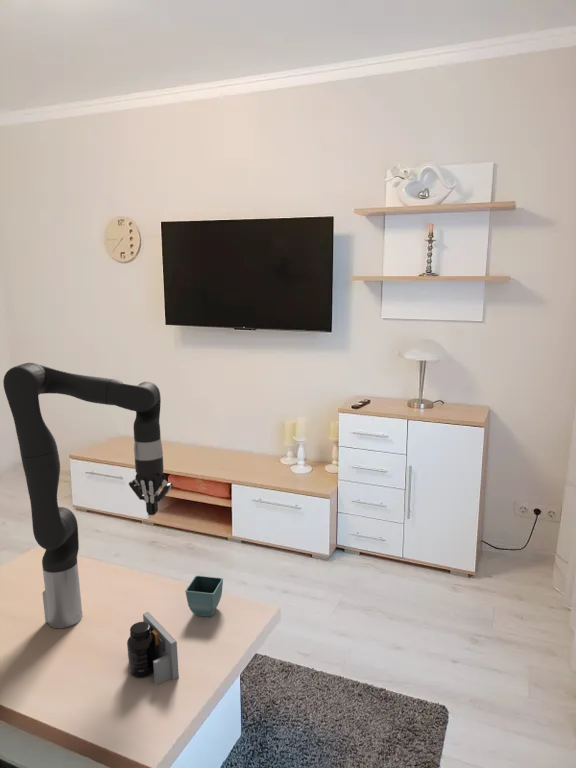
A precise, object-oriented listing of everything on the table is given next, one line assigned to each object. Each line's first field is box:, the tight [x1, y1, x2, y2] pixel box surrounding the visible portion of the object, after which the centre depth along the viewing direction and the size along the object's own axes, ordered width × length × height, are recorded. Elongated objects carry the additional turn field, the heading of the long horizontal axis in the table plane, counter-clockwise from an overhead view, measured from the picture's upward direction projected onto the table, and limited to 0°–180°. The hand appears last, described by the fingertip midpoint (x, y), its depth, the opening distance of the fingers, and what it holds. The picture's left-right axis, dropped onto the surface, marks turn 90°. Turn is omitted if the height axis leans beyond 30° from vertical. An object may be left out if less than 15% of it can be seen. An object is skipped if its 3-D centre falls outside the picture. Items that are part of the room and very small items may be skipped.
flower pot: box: [185, 575, 224, 618], centre depth 166 cm, size 9×9×9 cm
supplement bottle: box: [126, 621, 157, 679], centre depth 142 cm, size 7×7×12 cm
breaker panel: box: [142, 611, 180, 686], centre depth 144 cm, size 6×16×10 cm, turn 38°
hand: (152, 514), depth 159 cm, fingers closed
